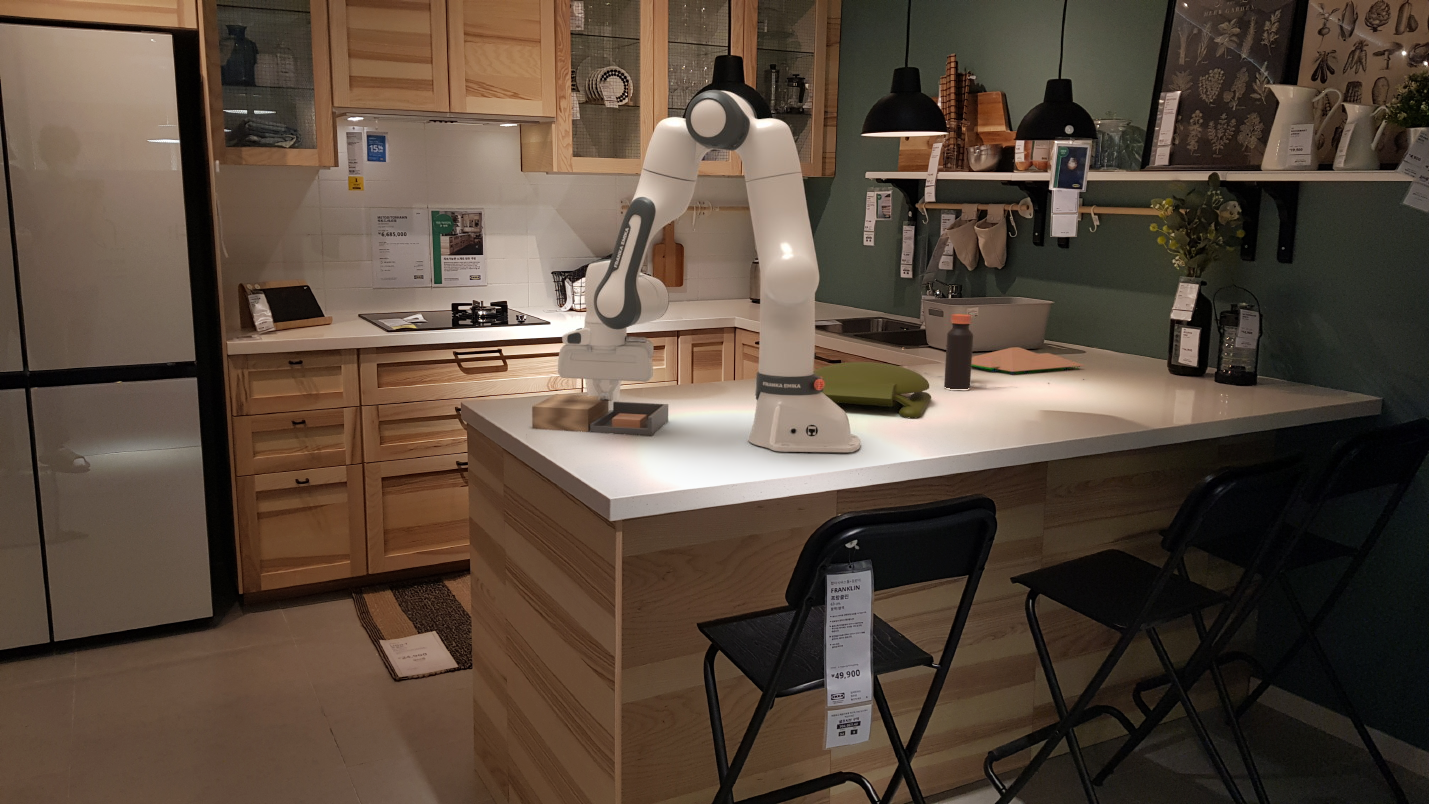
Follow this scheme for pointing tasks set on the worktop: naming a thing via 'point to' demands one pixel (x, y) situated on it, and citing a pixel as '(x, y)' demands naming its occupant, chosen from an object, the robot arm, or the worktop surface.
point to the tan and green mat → (1020, 361)
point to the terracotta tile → (629, 420)
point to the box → (654, 412)
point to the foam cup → (605, 387)
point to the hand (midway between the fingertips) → (605, 400)
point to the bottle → (959, 353)
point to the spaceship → (875, 386)
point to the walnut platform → (568, 412)
